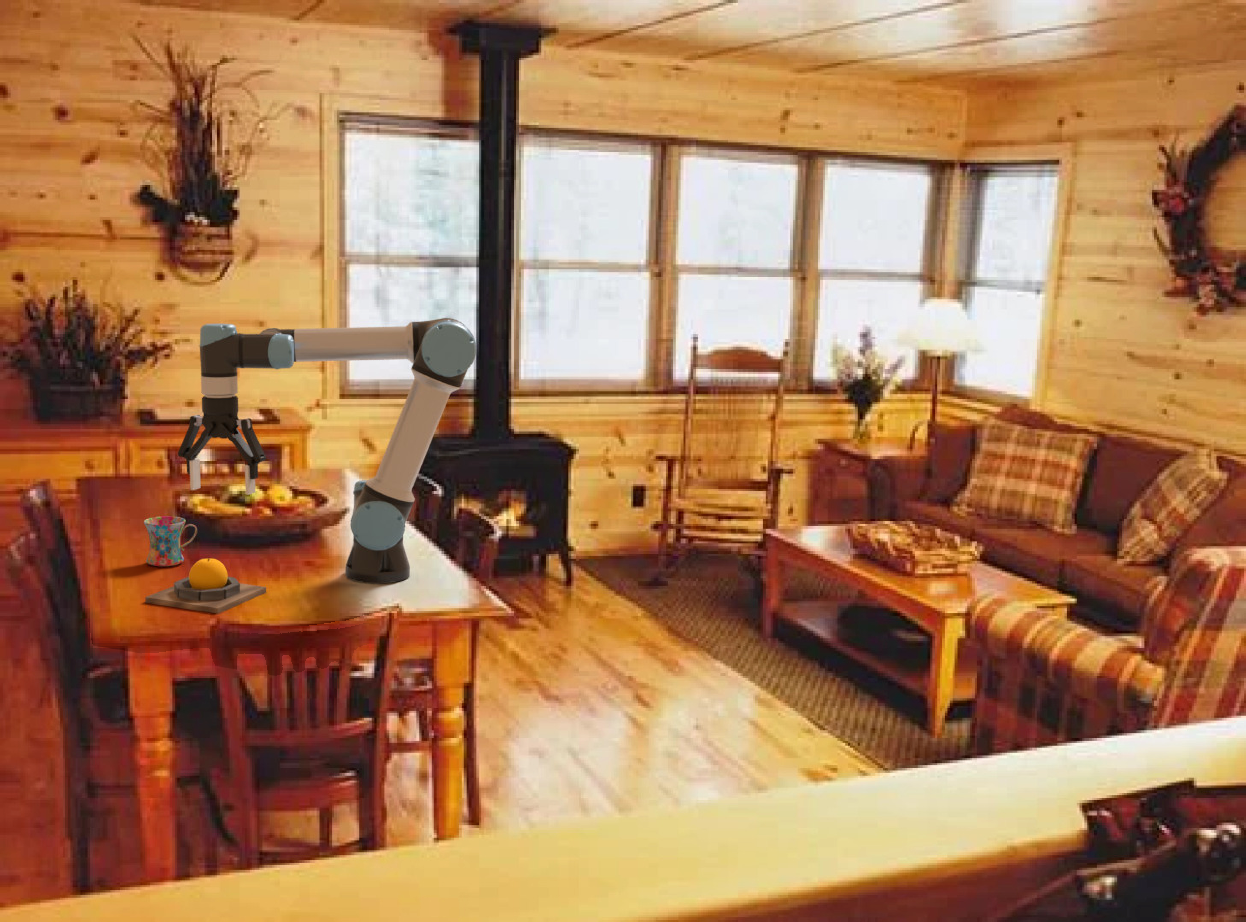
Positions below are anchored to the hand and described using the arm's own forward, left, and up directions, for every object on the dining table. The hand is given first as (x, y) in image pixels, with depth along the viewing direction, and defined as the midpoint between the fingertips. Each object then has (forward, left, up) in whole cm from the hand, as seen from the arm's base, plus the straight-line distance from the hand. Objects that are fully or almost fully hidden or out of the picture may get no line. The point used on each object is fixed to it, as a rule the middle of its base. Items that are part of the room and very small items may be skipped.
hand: (222, 491), depth 272 cm
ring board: (0, +6, -23) cm, 23 cm away
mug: (+24, -14, -23) cm, 36 cm away
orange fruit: (0, +6, -22) cm, 22 cm away
